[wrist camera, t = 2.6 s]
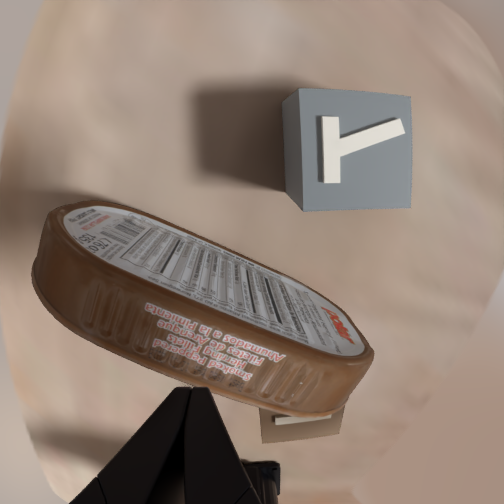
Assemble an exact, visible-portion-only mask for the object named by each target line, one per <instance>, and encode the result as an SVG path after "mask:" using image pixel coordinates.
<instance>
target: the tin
mask: <svg viewBox="0 0 504 504" xmlns="http://www.w3.org/2000/svg"><path fill="white" fill-rule="evenodd" d="M31 277H32V284H33V287H34V289H35V292H36V294H37V296H38V297H39V299H40V301H41V302H42V304H43V305H44V307H45V308H46V309H47V310H48V311H49V313H51V314H52V315H53V316H54V318H55V319H56V320H58V321H59V322H60V323H62V324H63V325H64V326H65V327H66V328H68V329H69V330H71V331H72V332H74V333H75V334H77V335H79V336H80V337H82V338H84V339H86V340H88V341H90V342H92V343H93V344H95V345H97V346H100V347H102V348H104V349H106V350H108V351H110V352H112V353H115V354H117V355H119V356H121V357H123V358H126V359H128V360H130V361H132V362H135V363H137V364H139V365H141V366H144V367H146V368H148V369H151V370H153V371H156V372H158V373H161V374H164V375H166V376H168V377H171V378H174V379H176V380H179V381H181V382H184V383H187V384H190V385H192V386H195V387H208V388H209V389H210V391H211V393H215V394H218V395H221V396H224V397H227V398H230V399H233V400H236V401H239V402H242V403H245V404H249V405H252V406H255V407H259V408H262V409H266V410H269V411H272V412H276V413H280V414H284V415H289V416H293V417H301V418H317V417H325V416H328V415H331V414H333V413H335V412H337V411H339V410H340V409H342V407H343V406H344V405H345V404H346V402H347V400H348V398H349V395H350V394H351V393H352V391H353V390H354V389H355V387H356V386H357V385H358V383H359V382H360V381H361V379H362V378H363V377H364V375H365V374H366V372H367V371H368V369H369V367H370V366H371V364H372V361H373V358H374V350H373V349H372V348H371V347H370V345H369V343H368V342H367V340H366V339H365V337H364V336H363V335H362V333H361V332H360V331H359V330H358V328H357V327H356V326H355V324H354V323H353V321H352V320H351V318H350V317H349V316H348V315H347V314H346V312H345V311H343V310H342V309H341V308H340V307H338V306H337V305H336V304H334V303H333V302H332V301H330V300H329V299H327V298H326V297H324V296H323V295H321V294H320V293H318V292H317V291H315V290H313V289H312V288H310V287H308V286H306V285H305V284H303V283H301V282H299V281H297V280H295V279H293V278H291V277H289V276H287V275H285V274H282V273H280V272H278V271H276V270H274V269H271V268H269V267H267V266H265V265H263V264H261V263H258V262H256V261H254V260H252V259H250V258H248V257H245V256H243V255H241V254H239V253H237V252H235V251H232V250H230V249H228V248H226V247H224V246H221V245H219V244H217V243H215V242H212V241H210V240H208V239H206V238H203V237H201V236H199V235H197V234H194V233H192V232H190V231H188V230H185V229H183V228H181V227H179V226H176V225H174V224H172V223H170V222H167V221H165V220H163V219H160V218H158V217H155V216H152V215H150V214H147V213H145V212H142V211H139V210H136V209H133V208H130V207H126V206H123V205H118V204H114V203H109V202H103V201H93V200H89V201H82V202H78V203H74V204H69V205H64V206H61V207H59V208H56V209H55V210H53V211H51V212H50V213H49V214H48V216H47V219H46V221H45V224H44V228H43V231H42V235H41V239H40V244H39V249H38V253H37V257H36V258H35V260H34V263H33V266H32V272H31Z"/></svg>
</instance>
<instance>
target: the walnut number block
mask: <svg viewBox="0 0 504 504" xmlns="http://www.w3.org/2000/svg"><path fill="white" fill-rule="evenodd" d="M344 407H345V405H344V406H343V407H342V409H340V410H339V411H337V412H335V413H333V414H331V415H328V416H325V417H317V418H301V417H293V416H289V415H284V414H280V413H276V412H272V411H269V410H266V409H262V408H259V414H260V425H261V436H262V444H263V443H275V442H285V441H294V440H302V439H309V438H316V437H323V436H329V435H335V434H339V431H340V427H341V422H342V417H343V413H344Z"/></svg>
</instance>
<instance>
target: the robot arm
mask: <svg viewBox="0 0 504 504" xmlns="http://www.w3.org/2000/svg"><path fill="white" fill-rule="evenodd" d="M97 477H98V478H97ZM97 477H95V478H94V479H93V480H92V481H91V482H90V483H89V484H88V485H87V486H86V487H85V488H84V489H83V490H82V491H81V492H80V493H79V494H78V495H77V496H76V497H75V498H74V499H73V500H72V501H71V502H70V503H69V504H278V497H277V496H278V495H279V494H280V464H279V463H265V464H251V465H242V463H241V461H240V458H239V456H238V454H237V452H236V450H235V448H234V445H233V443H232V441H231V439H230V436H229V434H228V432H227V430H226V427H225V425H224V423H223V420H222V418H221V416H220V413H219V411H218V408H217V406H216V404H215V401H214V399H213V396H212V394H211V391H210V389H209V388H208V387H193V388H191V387H176V388H174V389H173V390H172V392H171V393H170V394H169V395H168V396H167V397H166V399H165V400H164V401H163V402H162V403H161V404H160V405H159V407H158V408H157V409H156V410H155V411H154V412H153V413H152V415H151V416H150V417H149V418H148V419H147V420H146V421H145V422H144V424H143V425H142V426H141V427H140V428H139V429H138V430H137V432H136V433H135V434H134V435H133V436H132V437H131V438H130V439H129V440H128V442H127V443H126V444H125V445H124V446H123V447H122V448H121V449H120V450H119V452H118V453H117V454H116V455H115V456H114V457H113V458H112V459H111V460H110V462H109V463H108V464H107V465H106V466H105V467H104V468H103V469H102V470H101V471H100V472H99V474H98V475H97Z"/></svg>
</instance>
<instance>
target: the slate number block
mask: <svg viewBox="0 0 504 504" xmlns="http://www.w3.org/2000/svg"><path fill="white" fill-rule="evenodd" d="M282 119H283V139H284V162H285V189H286V193H287V195H288V196H289V197H290V198H291V199H292V200H293V201H294V202H295V203H296V204H297V205H298V206H299V208H300V209H301V210H302V211H303V212H308V211H331V210H358V209H393V208H411V190H412V116H411V97H409V96H402V95H394V94H385V93H376V92H365V91H352V90H336V89H310V88H298V89H297V90H296V91H295V92H294V93H292V94H291V95H290V96H289V97H288V98H286V99H285V100H284V101H283V102H282Z"/></svg>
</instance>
